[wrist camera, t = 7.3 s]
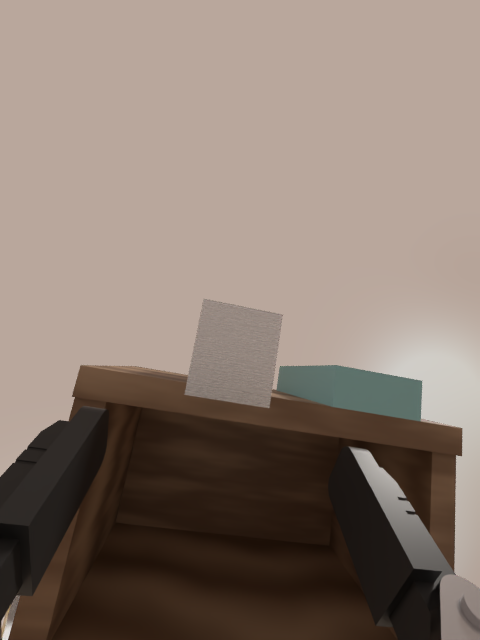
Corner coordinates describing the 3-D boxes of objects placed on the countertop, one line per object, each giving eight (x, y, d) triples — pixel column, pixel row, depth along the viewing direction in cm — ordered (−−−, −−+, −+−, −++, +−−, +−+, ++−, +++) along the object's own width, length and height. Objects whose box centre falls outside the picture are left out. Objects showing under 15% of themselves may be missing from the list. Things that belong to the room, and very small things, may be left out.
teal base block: (276, 390, 34) (279, 366, 35) (329, 399, 35) (331, 375, 36) (332, 406, 20) (336, 365, 20) (420, 421, 21) (422, 380, 21)
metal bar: (194, 377, 30) (201, 342, 31) (225, 382, 31) (231, 347, 32) (184, 394, 11) (203, 298, 12) (269, 408, 11) (282, 314, 12)
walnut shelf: (59, 687, 27) (136, 366, 34) (324, 699, 30) (350, 402, 37) (-126, 1109, 12) (80, 365, 18) (455, 1048, 15) (462, 428, 21)
